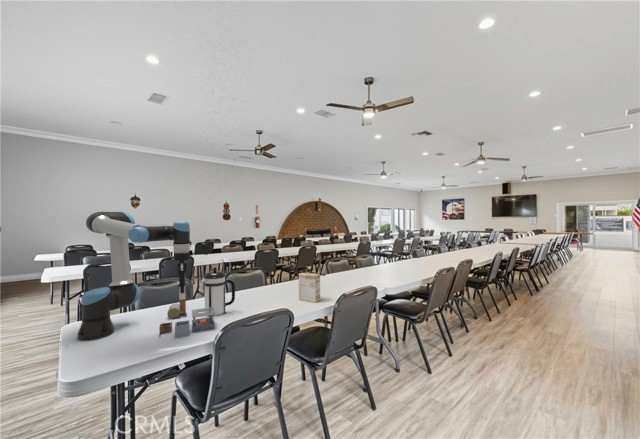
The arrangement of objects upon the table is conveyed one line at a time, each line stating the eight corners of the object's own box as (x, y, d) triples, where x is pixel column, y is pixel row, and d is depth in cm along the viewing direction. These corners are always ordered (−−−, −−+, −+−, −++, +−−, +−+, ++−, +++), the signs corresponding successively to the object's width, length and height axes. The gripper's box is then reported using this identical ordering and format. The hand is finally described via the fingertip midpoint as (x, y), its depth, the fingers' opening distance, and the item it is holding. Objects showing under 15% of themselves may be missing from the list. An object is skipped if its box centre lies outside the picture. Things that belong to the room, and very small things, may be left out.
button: (199, 331, 153) (199, 322, 153) (199, 329, 156) (199, 319, 157) (207, 330, 155) (207, 321, 155) (207, 327, 158) (206, 318, 158)
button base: (192, 335, 148) (192, 315, 148) (192, 328, 158) (191, 309, 158) (214, 331, 153) (214, 312, 153) (213, 324, 163) (213, 307, 163)
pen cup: (175, 340, 142) (174, 326, 142) (175, 335, 148) (175, 322, 148) (189, 338, 144) (189, 324, 144) (189, 333, 150) (189, 320, 150)
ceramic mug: (166, 320, 171) (166, 307, 171) (168, 316, 179) (168, 303, 179) (186, 318, 175) (186, 305, 175) (187, 314, 182) (187, 302, 182)
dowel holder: (159, 336, 146) (159, 327, 146) (160, 333, 151) (160, 323, 151) (171, 335, 149) (171, 325, 149) (172, 331, 153) (171, 322, 153)
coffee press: (221, 320, 170) (220, 269, 170) (197, 318, 173) (196, 269, 173) (235, 311, 187) (235, 265, 187) (213, 309, 190) (213, 264, 190)
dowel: (179, 316, 144) (179, 276, 144) (179, 314, 147) (179, 275, 147) (185, 315, 145) (185, 276, 145) (185, 314, 148) (185, 275, 148)
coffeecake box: (320, 300, 210) (320, 273, 210) (315, 303, 204) (315, 275, 204) (303, 297, 218) (303, 272, 218) (298, 300, 212) (298, 273, 212)
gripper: (190, 253, 140) (190, 301, 140) (190, 250, 155) (190, 294, 155) (172, 254, 137) (173, 303, 137) (174, 251, 152) (174, 295, 152)
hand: (182, 298), depth 146 cm, fingers closed on dowel, 3 cm apart
